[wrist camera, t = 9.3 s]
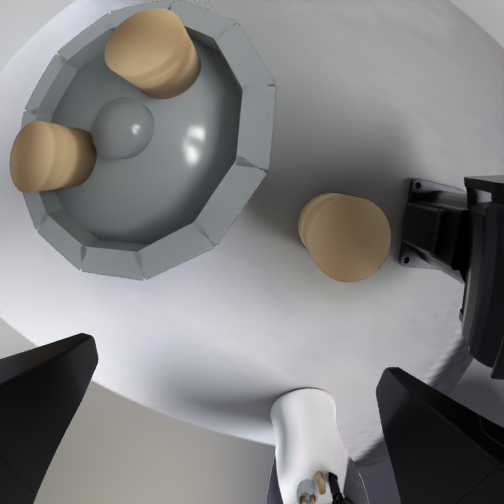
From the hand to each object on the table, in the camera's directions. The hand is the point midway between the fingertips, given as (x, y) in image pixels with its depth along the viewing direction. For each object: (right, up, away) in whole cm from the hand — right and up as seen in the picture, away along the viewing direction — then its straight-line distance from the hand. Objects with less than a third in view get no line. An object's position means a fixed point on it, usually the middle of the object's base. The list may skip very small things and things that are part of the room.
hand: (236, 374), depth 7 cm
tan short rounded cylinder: (-13, +10, +9) cm, 19 cm away
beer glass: (+5, -11, +15) cm, 20 cm away
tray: (-8, +12, +10) cm, 17 cm away
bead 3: (+6, +5, +11) cm, 13 cm away
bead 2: (-5, +15, +7) cm, 18 cm away
